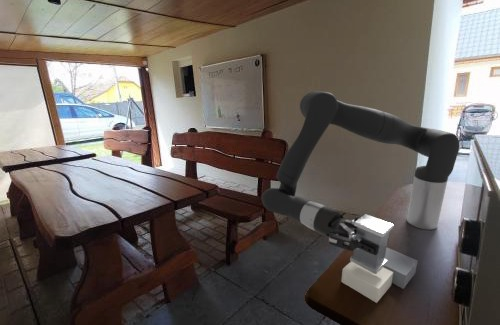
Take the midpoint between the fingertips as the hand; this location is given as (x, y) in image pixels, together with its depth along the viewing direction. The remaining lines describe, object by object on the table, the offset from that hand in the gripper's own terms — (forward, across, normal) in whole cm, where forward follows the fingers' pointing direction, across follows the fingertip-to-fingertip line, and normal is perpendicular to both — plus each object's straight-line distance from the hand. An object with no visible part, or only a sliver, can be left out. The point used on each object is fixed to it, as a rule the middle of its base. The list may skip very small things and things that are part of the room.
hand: (382, 246), depth 61 cm
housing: (-3, 0, +6) cm, 7 cm away
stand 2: (0, +9, +12) cm, 15 cm away
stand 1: (-2, 0, +12) cm, 13 cm away
